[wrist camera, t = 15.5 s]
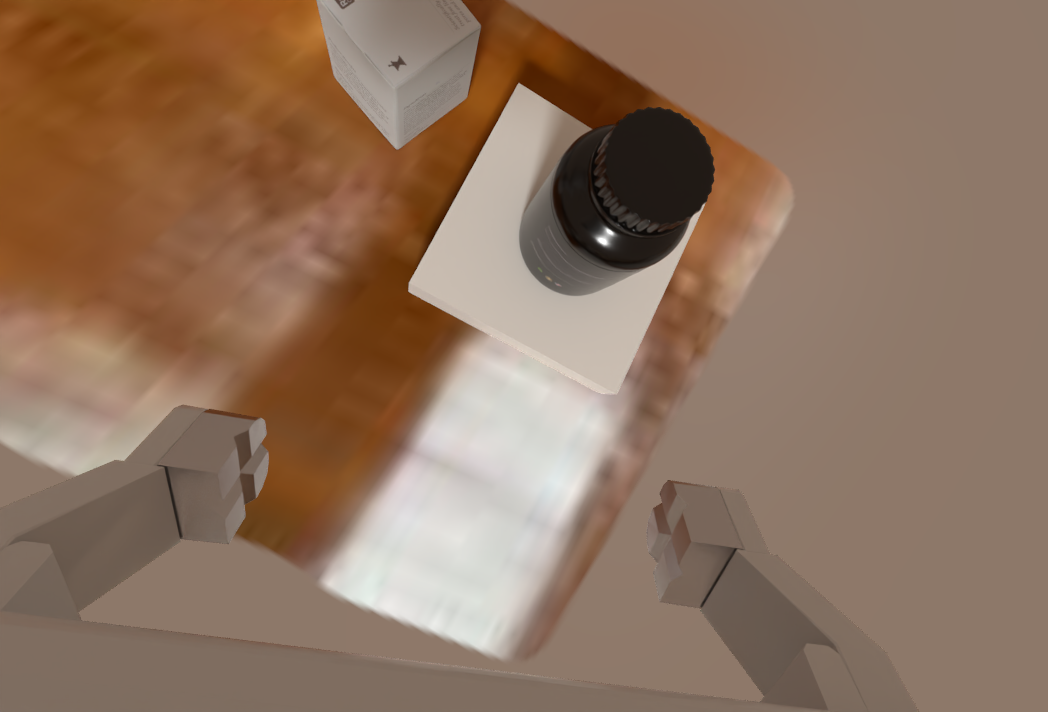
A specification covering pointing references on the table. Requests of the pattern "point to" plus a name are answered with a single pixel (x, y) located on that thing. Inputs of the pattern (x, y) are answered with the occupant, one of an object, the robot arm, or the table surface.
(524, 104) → the stand
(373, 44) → the skincare box
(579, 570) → the table surface
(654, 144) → the supplement bottle
